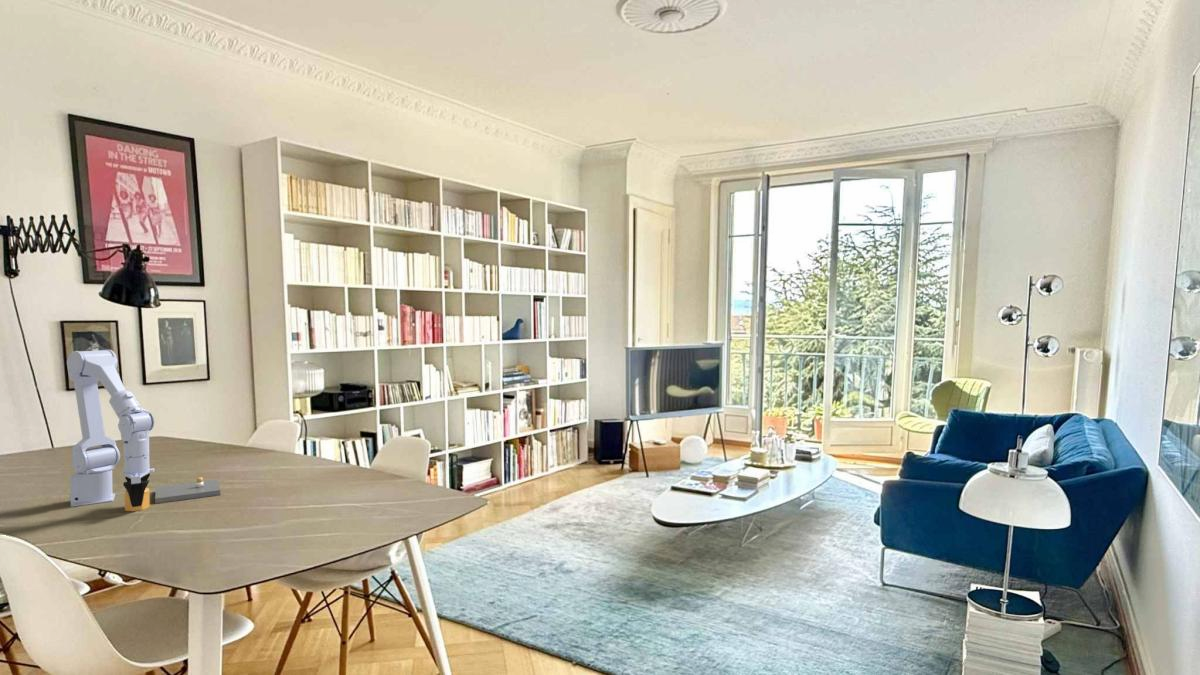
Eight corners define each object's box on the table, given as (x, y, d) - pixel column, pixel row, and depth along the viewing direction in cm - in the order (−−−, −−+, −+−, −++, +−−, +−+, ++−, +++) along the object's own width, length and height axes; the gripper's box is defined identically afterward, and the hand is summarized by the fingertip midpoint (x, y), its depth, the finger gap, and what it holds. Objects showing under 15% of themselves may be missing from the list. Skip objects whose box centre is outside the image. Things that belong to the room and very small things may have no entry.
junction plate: (155, 503, 176) (155, 488, 175) (156, 491, 187) (155, 477, 187) (220, 494, 185) (220, 480, 185) (217, 483, 196) (217, 470, 196)
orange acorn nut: (124, 512, 168) (124, 494, 168) (125, 507, 172) (125, 489, 172) (149, 508, 171) (148, 491, 171) (149, 503, 175) (149, 486, 175)
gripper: (153, 458, 167) (154, 507, 168) (154, 448, 179) (155, 494, 180) (121, 462, 163) (121, 511, 164) (124, 451, 175) (125, 498, 176)
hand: (137, 503), depth 172 cm, fingers open, 6 cm apart
